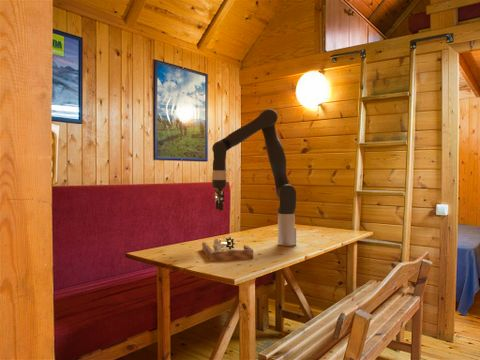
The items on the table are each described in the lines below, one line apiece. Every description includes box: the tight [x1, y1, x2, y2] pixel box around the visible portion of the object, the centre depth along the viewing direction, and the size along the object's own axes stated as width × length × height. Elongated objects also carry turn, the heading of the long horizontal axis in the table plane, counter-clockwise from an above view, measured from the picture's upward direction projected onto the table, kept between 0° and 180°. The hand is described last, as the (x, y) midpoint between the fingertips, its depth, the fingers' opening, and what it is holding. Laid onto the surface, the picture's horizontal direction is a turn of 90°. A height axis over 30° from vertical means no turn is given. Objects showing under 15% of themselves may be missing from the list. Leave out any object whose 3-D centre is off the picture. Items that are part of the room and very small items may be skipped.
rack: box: [201, 241, 254, 262], centre depth 182 cm, size 20×26×5 cm
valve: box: [212, 236, 236, 252], centre depth 189 cm, size 7×7×12 cm
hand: (219, 209), depth 198 cm, fingers open, 7 cm apart
